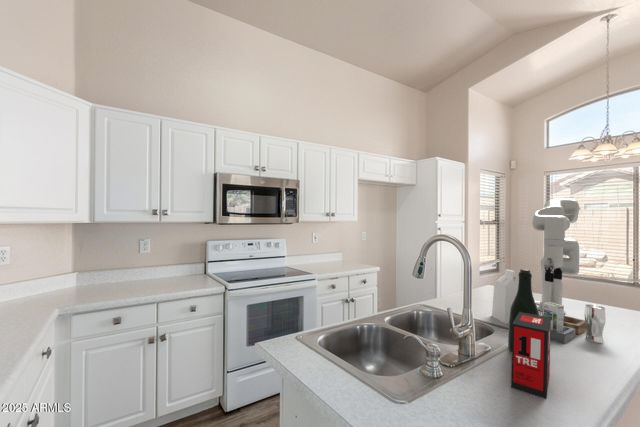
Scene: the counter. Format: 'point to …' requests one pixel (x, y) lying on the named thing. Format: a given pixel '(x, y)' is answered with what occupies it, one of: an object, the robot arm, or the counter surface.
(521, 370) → the cleaning product box
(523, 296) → the dark green wine bottle
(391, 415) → the counter surface
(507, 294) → the milk
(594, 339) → the beer glass
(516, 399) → the counter surface
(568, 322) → the walnut holder
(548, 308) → the syrup box
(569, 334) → the gray square frame
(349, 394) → the counter surface
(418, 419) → the counter surface
